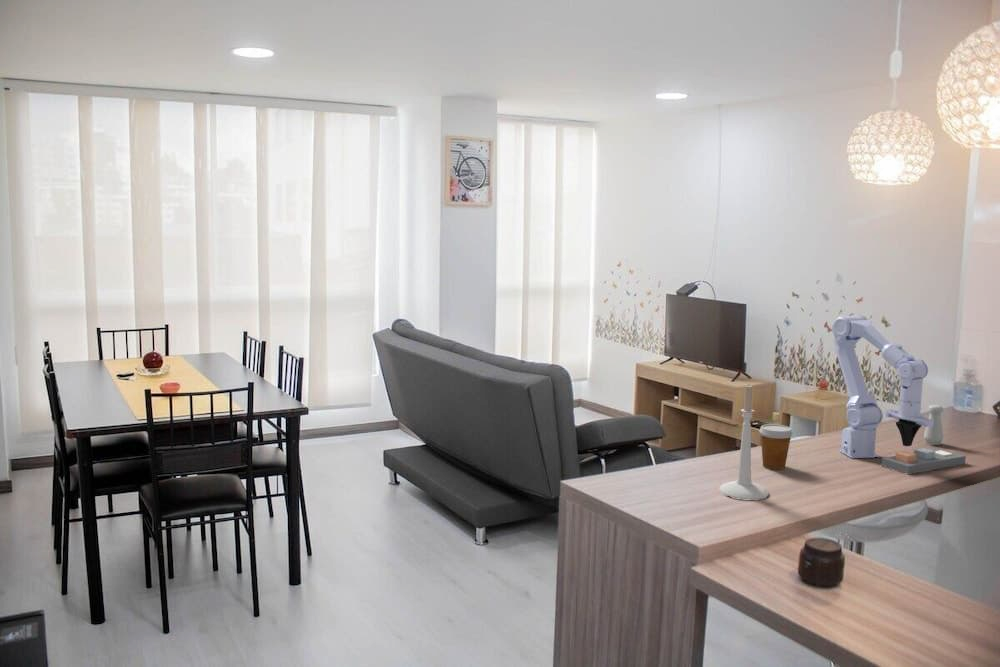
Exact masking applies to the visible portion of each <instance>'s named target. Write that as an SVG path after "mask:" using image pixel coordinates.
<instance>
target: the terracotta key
mask: <svg viewBox="0 0 1000 667" xmlns="http://www.w3.org/2000/svg"><path fill="white" fill-rule="evenodd" d="M913 453H914V452H910V451H906V450H904V451H897V452H895V456H896V457H895V460H898V461H901V462H904V463H912V462H916V459H917V455H916V454H913Z"/></svg>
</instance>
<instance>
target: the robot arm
mask: <svg viewBox="0 0 1000 667" xmlns="http://www.w3.org/2000/svg"><path fill="white" fill-rule="evenodd" d="M831 331H832V333H833V334H832V335H833V337H834V340H833V345H834V350H835V352H836V356H837V360H838V362H839V363H838V364H839V366H840V369H841V370H840V371H841V374H842V376H843V379H844V383H845V386H846V389H847V392H848V395H849V396H848V397H849V401H848V402H847V403H846V405H845V408H846V409H845V410H846V421H847V423H848V424H849V426H848V427H844V428H843V429H842V431H841V439H840V440H841V441H840V449H839V452H840V453H842V454H844V455H846V456H848V457H849V458H851V459H869V458H871V459H872V458H874V459H875V457H877V458H881V455H879V454H877V453H875V452H876V438H877V428H879V424H880V423H881V422H882V421H883V418H884V416H883V415H884V414H883V411H882V409H881V408H880V406H879V405H878V403H877V400H876V399H875V398H874V397H873V396H871V395H870V394H869V392H868V389H867V386H866V383H865V378H864V376H863V373H862V368H861V365H860V363H859V359H858V356H857V354H856V350H855V346H856V344H857V343H858V342H859V341H860V340H861V339H862V338H863V339H864V340H866V341H868V342H869V343H870V344H871V345H872V346H874V347H875V348H877V350H879V351H881V357H882V359H884V360H885V361H886V362H887V363H888V364H890V365H891V367H893V368H894V369H895V371H896V374H897V377H898V378H899V384H900V391H899V392H900V393H899V403H898V410H893V409H888V410H886V412H885V417H886V418H892V419H897V421H895V425H896V427H897V429H898V431H899V434H900V438H901V441H902V443H901V444H902V446H904V447H911V446H912V445H913V441H914V438H915V437H916V435H917V433H918V431H919V430H920V428H921V427H922V426H924V427H925V428H926V427H933V420H930V419H928V418H927V417H926V416H925V417H924V416H922V415H921V409H922V408H921V407H922V397H923V396H922V395H923V384H924V383H923V379H924V378H926V377H927V375H928V372H929V369H928V368H929V367H928V365H927V363H926V362H925V361H924V360H922V359H920V358H919V359H918V358H915V357H914V356H913V355H912V354H910V353H908V352H907V351H906V350H905V349H904V348H903V345H902V344H900V343H899V344H897V343H890V341H889V340H888V339H887V338H886V337H885V336H883V334H881V332H879V331H878V329H876V328H875V326H873V323H872V321H871V320H869V319H868V318H867V317H866V316H865V315H861V314H860V315H855V316H854V315H853V316H839V317H838V316H837V318H836V319H834V321H833V323H832V325H831Z"/></svg>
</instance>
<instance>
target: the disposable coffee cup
mask: <svg viewBox="0 0 1000 667" xmlns="http://www.w3.org/2000/svg"><path fill="white" fill-rule="evenodd" d="M758 431H759V435H760V443H761V444H760V445H761V446H760V447H761V458H762V466H763V467H764V468H765V467H767V468H766V469H768V468H770V469H769V470H774V469H781V470H784V469H785V468H786V463H787V460H788V459H787V458H788V453H789V449H790V444H791V443H790V442H791V438H792V435H793V434H794V433H793V431H792V428H791V427H790V426H787V425H783V424H775V423H769V424H768V423H766V424H762V425H761V426H760V429H759V430H758ZM783 468H784V469H783Z"/></svg>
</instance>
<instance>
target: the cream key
mask: <svg viewBox="0 0 1000 667" xmlns="http://www.w3.org/2000/svg"><path fill="white" fill-rule="evenodd" d="M935 454H936V455H939V456H943V457H947V456H952V455H953V454H952V453H949V452H945V451H942V450H940V451H935Z"/></svg>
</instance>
